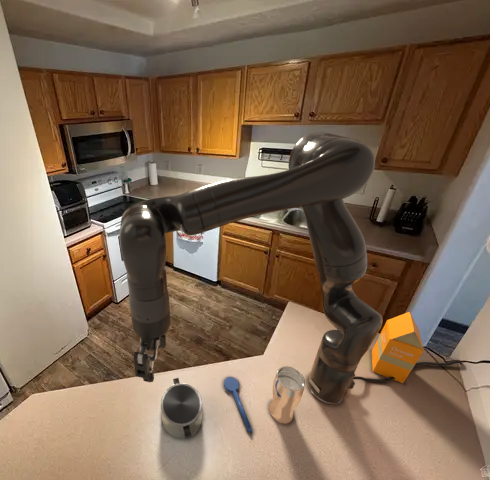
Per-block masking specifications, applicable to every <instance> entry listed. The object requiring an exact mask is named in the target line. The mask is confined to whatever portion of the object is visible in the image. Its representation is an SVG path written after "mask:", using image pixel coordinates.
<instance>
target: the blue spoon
mask: <svg viewBox="0 0 490 480" xmlns="http://www.w3.org/2000/svg"><path fill="white" fill-rule="evenodd" d="M223 387H224V389H225V390H226V391H227V392H228V393H231V394H232V395H233V397H234V400H235V403H236V406H237V407H238V410H239V413H240V415H241V417H242V419H243V423H244V425H245V427H246V430H247V432H248V433H252V432H253V427H252V426H251V423H250V420H249V418H248V416H247V413H246V410H245V408H244V406H243V404H242V401H241V399H240V397H239V394H238V390H239V387H240V382H239V381H238V379H236V378H235V377H234V376H228V377H226V378H225V379H224V380H223Z"/></svg>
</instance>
